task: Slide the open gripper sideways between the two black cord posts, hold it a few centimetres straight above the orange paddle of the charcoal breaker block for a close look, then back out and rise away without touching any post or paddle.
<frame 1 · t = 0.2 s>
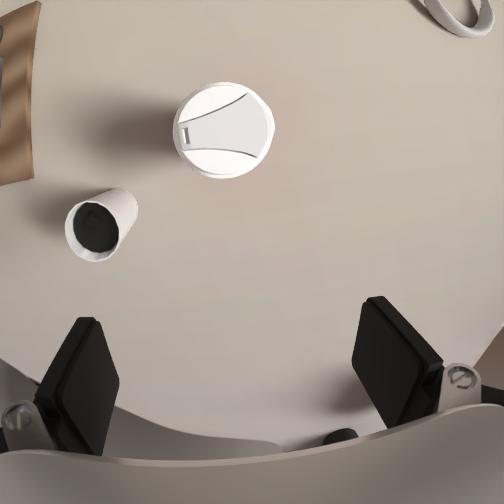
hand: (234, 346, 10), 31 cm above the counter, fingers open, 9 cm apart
pen holder: (338, 437, 63), on the counter
coffee cup: (219, 133, 37), on the counter
white cup: (118, 209, 38), on the counter
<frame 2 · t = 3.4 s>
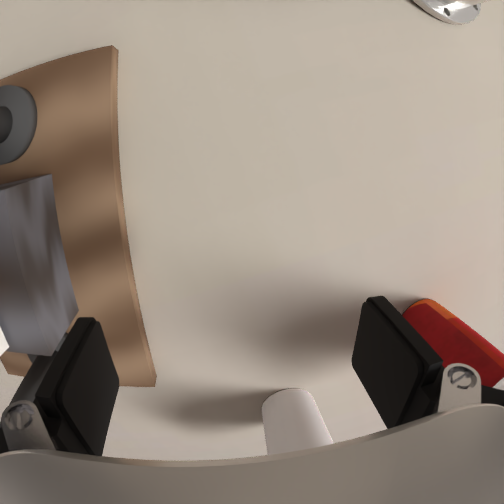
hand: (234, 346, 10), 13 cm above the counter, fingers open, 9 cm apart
breaker panel: (32, 243, 21), on the counter
coffee cup: (417, 321, 29), on the counter
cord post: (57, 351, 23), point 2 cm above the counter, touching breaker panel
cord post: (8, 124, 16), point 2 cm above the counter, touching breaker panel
white cup: (287, 404, 31), on the counter
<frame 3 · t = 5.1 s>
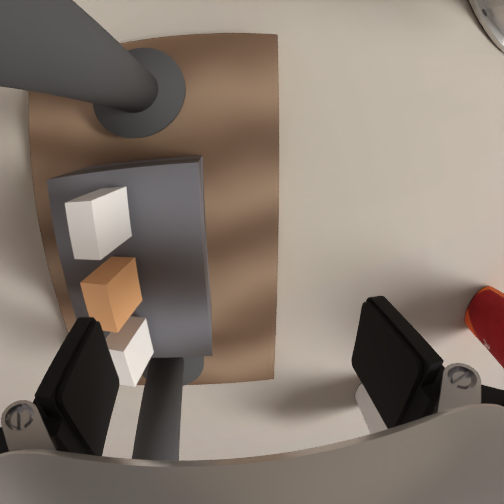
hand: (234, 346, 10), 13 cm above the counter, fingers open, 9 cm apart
breaker panel: (153, 232, 22), on the counter
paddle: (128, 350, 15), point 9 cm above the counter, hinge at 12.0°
coffee cup: (479, 306, 30), on the counter
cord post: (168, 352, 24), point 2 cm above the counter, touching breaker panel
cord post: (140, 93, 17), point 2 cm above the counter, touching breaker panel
paddle middle: (113, 292, 13), point 9 cm above the counter, hinge at 12.0°
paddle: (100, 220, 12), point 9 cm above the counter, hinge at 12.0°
white cup: (376, 386, 32), on the counter
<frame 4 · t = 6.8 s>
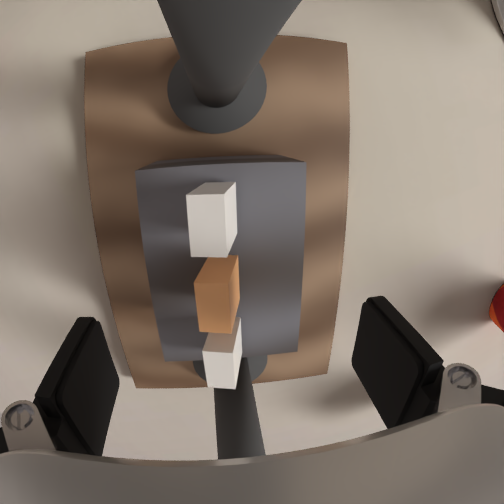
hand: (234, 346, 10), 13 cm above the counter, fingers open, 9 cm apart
breaker panel: (221, 231, 23), on the counter
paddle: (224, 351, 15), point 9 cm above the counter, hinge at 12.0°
coffee cup: (501, 300, 31), on the counter
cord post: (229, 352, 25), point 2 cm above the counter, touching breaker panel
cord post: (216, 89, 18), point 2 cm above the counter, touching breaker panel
paddle middle: (219, 291, 14), point 9 cm above the counter, hinge at 12.0°
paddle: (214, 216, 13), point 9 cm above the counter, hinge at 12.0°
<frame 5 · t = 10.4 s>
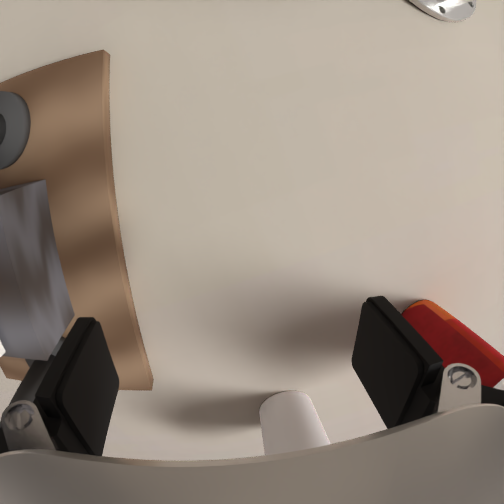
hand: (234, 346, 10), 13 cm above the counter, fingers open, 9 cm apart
breaker panel: (28, 248, 21), on the counter
coffee cup: (415, 323, 29), on the counter
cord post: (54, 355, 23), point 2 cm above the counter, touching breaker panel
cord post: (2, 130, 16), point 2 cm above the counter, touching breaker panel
white cup: (285, 406, 30), on the counter
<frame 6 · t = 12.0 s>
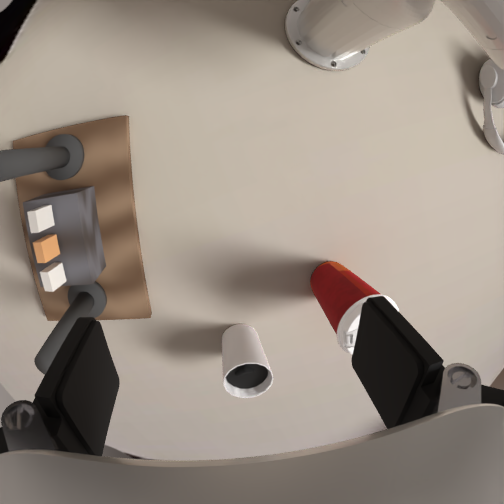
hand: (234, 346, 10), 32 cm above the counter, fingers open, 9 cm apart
breaker panel: (77, 227, 38), on the counter
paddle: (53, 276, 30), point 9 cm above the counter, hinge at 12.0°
headphones: (496, 107, 41), on the counter
coffee cup: (328, 278, 46), on the counter
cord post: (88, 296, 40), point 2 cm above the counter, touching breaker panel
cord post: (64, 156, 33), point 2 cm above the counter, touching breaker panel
paddle middle: (46, 248, 29), point 9 cm above the counter, hinge at 12.0°
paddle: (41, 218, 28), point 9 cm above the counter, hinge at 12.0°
white cup: (239, 338, 48), on the counter
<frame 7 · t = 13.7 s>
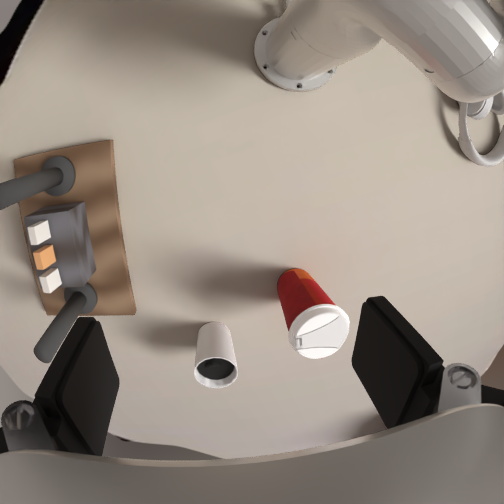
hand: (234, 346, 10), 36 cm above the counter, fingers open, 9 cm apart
breaker panel: (72, 235, 43), on the counter
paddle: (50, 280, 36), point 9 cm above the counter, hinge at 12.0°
headphones: (476, 117, 44), on the counter
coffee cup: (294, 284, 51), on the counter
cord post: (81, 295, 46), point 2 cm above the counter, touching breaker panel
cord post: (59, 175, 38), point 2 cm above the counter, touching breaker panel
paddle middle: (44, 257, 35), point 9 cm above the counter, hinge at 12.0°
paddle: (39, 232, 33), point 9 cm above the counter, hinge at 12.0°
white cup: (214, 334, 53), on the counter
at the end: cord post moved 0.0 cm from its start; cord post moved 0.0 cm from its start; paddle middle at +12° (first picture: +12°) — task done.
